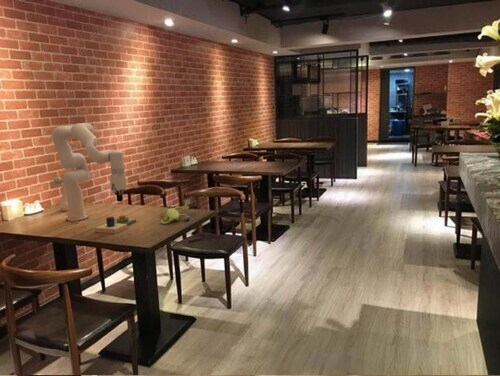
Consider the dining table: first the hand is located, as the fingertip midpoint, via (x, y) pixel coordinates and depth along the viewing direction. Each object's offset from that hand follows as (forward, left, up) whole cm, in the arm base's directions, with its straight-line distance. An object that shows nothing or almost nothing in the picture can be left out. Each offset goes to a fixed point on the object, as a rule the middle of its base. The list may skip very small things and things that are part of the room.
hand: (119, 201), depth 258 cm
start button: (+1, -1, -11) cm, 11 cm away
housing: (+1, -1, -14) cm, 14 cm away
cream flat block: (+3, -15, -14) cm, 20 cm away
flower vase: (-63, +21, -14) cm, 68 cm away
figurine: (+27, +17, -14) cm, 35 cm away
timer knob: (+3, -15, -11) cm, 19 cm away
